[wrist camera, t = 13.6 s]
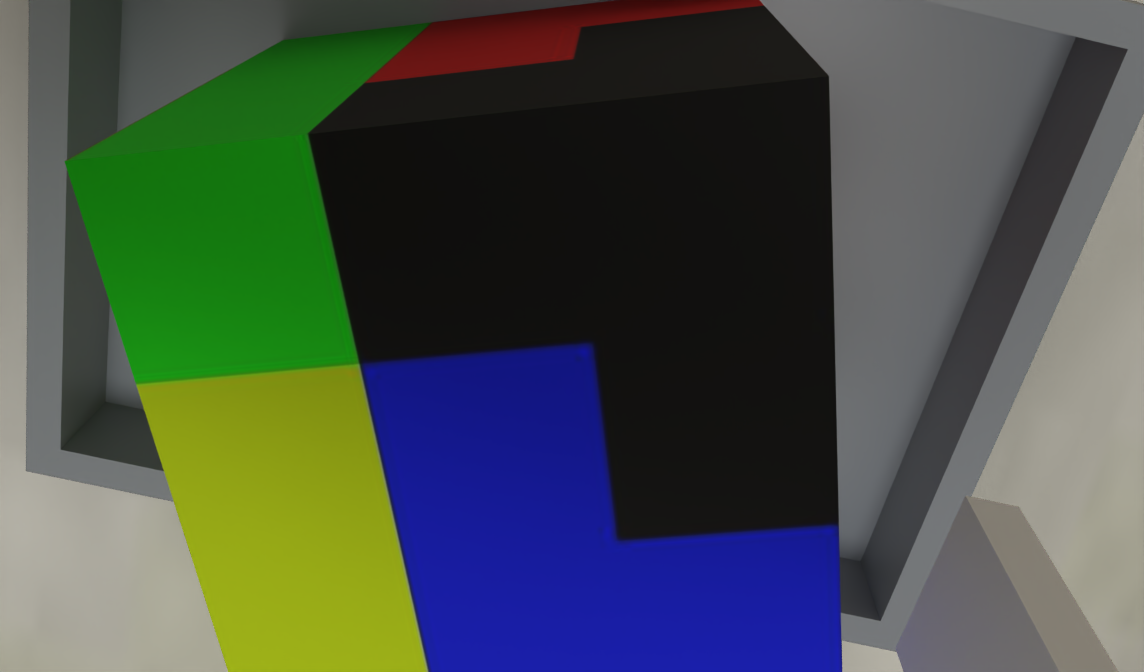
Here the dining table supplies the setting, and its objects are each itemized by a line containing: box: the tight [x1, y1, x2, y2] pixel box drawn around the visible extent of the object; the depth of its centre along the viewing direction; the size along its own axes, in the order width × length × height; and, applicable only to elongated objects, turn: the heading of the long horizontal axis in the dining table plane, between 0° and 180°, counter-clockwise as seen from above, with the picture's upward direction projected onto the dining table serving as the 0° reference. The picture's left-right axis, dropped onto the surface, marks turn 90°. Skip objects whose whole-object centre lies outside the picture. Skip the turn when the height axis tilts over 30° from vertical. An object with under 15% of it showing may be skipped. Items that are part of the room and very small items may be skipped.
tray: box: [26, 0, 1144, 652], centre depth 24 cm, size 16×22×3 cm
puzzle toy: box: [64, 0, 842, 672], centre depth 20 cm, size 10×10×10 cm
